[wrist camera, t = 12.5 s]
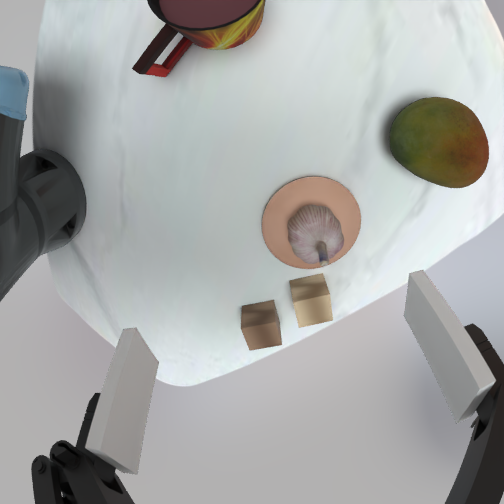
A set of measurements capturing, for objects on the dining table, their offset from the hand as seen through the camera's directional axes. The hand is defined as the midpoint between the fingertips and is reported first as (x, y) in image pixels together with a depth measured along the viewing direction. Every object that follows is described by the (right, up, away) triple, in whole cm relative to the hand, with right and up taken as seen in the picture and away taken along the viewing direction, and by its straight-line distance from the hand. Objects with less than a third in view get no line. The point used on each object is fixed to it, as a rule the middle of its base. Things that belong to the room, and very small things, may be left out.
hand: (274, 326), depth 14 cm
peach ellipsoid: (+7, +7, +26) cm, 28 cm away
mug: (-5, +28, +13) cm, 32 cm away
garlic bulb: (+7, +7, +25) cm, 27 cm away
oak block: (+7, -2, +32) cm, 32 cm away
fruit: (+21, +18, +19) cm, 34 cm away
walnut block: (0, -7, +34) cm, 35 cm away
